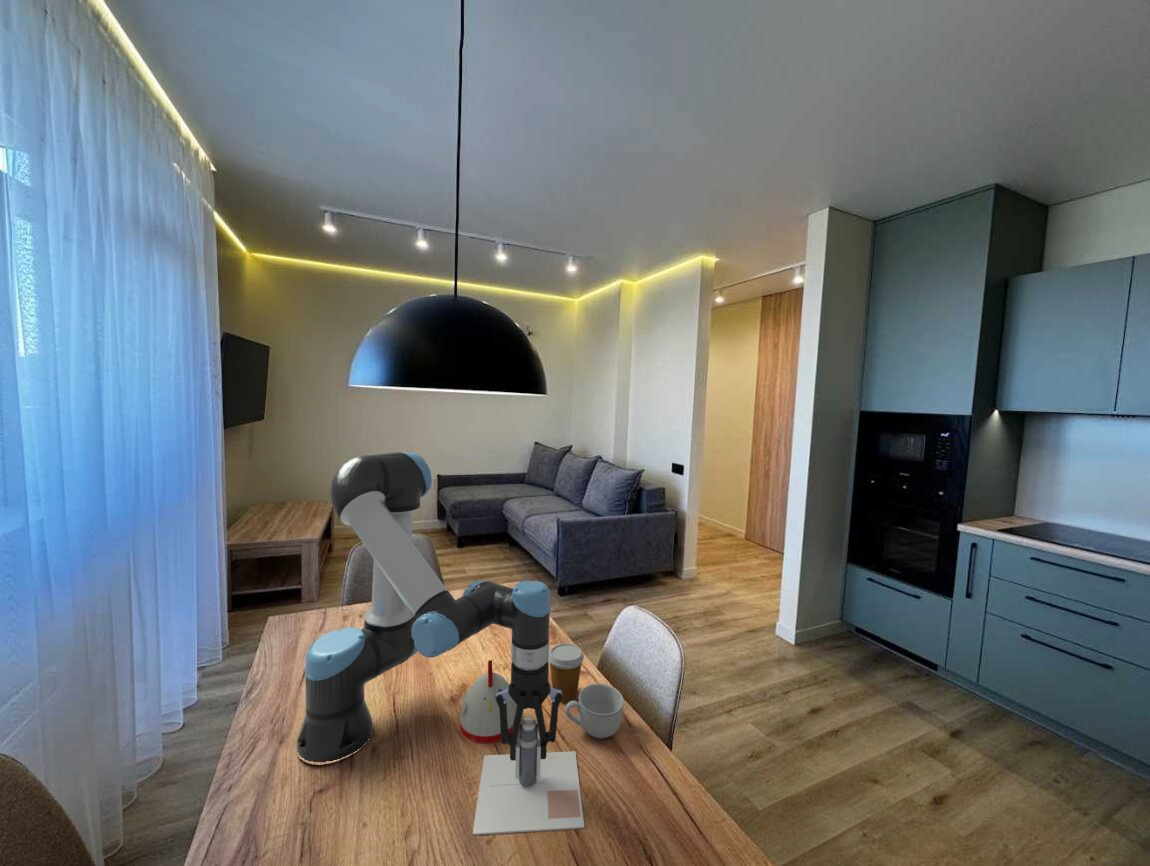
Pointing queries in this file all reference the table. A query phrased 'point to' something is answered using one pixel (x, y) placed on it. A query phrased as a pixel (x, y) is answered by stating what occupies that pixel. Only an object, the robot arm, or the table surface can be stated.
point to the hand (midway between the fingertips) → (527, 772)
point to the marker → (528, 752)
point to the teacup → (598, 710)
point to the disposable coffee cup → (566, 669)
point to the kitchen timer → (485, 709)
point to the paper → (529, 796)
